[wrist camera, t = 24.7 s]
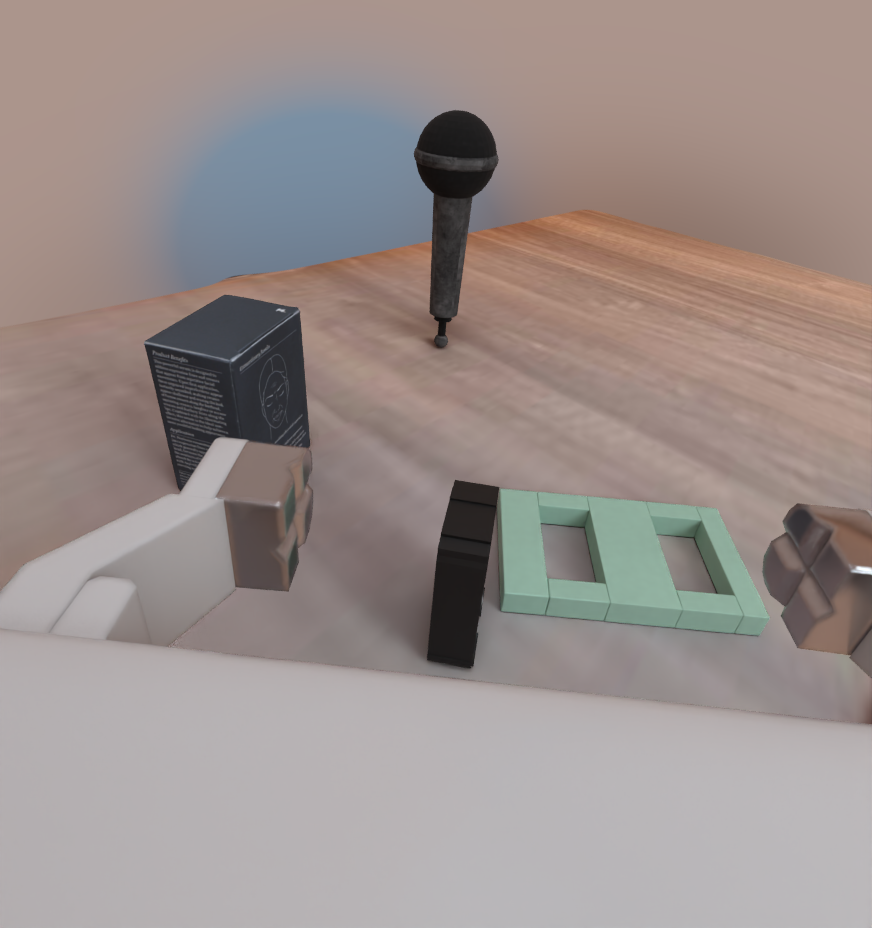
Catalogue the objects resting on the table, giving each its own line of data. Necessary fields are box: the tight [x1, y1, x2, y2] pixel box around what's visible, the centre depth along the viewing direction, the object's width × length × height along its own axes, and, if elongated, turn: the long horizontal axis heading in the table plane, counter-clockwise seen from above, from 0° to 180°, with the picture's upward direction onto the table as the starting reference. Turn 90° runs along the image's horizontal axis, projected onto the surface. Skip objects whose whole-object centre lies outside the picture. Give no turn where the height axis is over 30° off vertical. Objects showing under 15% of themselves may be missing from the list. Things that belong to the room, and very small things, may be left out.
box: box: [144, 295, 310, 490], centre depth 39 cm, size 8×6×11 cm
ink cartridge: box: [427, 480, 499, 668], centre depth 30 cm, size 5×2×8 cm, turn 170°
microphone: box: [414, 110, 498, 347], centre depth 54 cm, size 7×7×20 cm
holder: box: [497, 488, 770, 636], centre depth 36 cm, size 14×9×2 cm, turn 86°
